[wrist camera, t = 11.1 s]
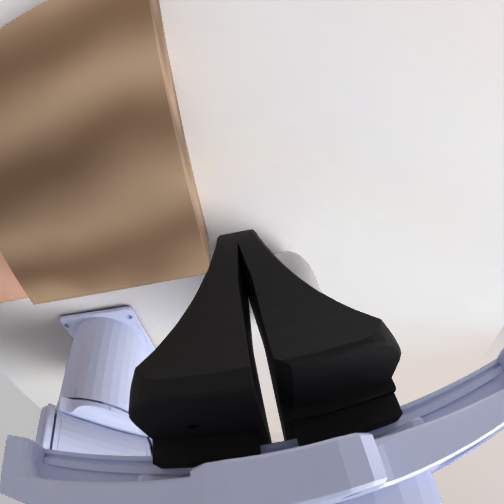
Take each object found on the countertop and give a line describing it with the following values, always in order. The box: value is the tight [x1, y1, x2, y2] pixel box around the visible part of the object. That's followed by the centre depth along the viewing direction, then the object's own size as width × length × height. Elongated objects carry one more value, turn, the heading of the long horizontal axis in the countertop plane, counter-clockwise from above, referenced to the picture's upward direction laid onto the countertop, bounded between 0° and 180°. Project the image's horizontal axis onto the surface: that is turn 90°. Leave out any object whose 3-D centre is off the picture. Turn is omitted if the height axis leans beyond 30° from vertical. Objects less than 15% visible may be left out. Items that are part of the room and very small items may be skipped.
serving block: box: [0, 0, 210, 305], centre depth 15 cm, size 18×14×4 cm
